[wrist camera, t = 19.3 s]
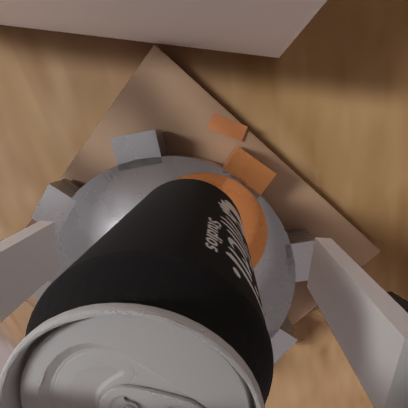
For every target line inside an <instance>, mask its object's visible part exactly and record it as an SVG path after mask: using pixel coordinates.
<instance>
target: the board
mask: <svg viewBox="0 0 408 408" xmlns="http://www.w3.org/2000/svg"><path fill="white" fill-rule="evenodd" d="M247 127H248V126H245V125H243V124H241V123H240V122H239V121H238V120H237V119H236V118H235V117H234V116H232V115H231V114H230V113H229V112H228V111H227V110H226V109H225V108H224V107H223V106H222V105H220V104H219V103H218V102H217V101H216V100H215V99H214V98H213V97H212V96H211V95H209V94H208V93H207V92H206V91H205V90H204V89H203V88H202V87H201V86H200V85H199V84H197V83H196V82H195V81H194V80H193V79H192V78H191V77H190V76H189V75H188V74H186V73H185V72H184V71H183V70H182V69H181V68H180V67H179V66H178V65H177V64H176V63H174V62H173V61H172V60H171V59H170V58H169V57H168V56H167V55H166V54H165V53H163V52H162V51H161V50H160V49H159V48H158V47H157V46H156V45H155V44H154V45H153V47H152V48H151V50H150V51H149V52H148V54H147V55H146V57H145V58H144V60H143V61H142V62H141V64H140V65H139V67H138V68H137V70H136V71H135V72H134V74H133V75H132V77H131V78H130V80H129V81H128V82H127V84H126V85H125V87H124V88H123V90H122V91H121V92H120V94H119V95H118V97H117V98H116V100H115V101H114V102H113V104H112V105H111V107H110V108H109V110H108V111H107V113H106V114H105V115H104V117H103V118H102V120H101V121H100V123H99V124H98V125H97V127H96V128H95V130H94V131H93V133H92V134H91V135H90V137H89V138H88V140H87V141H86V143H85V144H84V145H83V147H82V148H81V150H80V151H79V153H78V154H77V155H76V157H75V158H74V160H73V161H72V163H71V164H70V165H69V167H68V168H67V170H66V171H65V173H64V174H63V176H62V177H61V178H60V180H62V179H65V178H66V179H68V180H70V181H71V182H73V183H74V184H76V185H77V186H79V187H83V186H84V185H85V184H86V183H87V182H89V181H90V180H91V179H92V178H94V177H96V176H97V175H99V174H101V173H102V172H104V171H106V170H108V169H110V168H113V167H115V166H117V162H116V159H115V155H114V152H113V148H112V144H111V141H110V139H111V138H116V137H121V136H125V135H130V134H135V133H140V132H145V131H150V130H155V129H162V133H163V137H164V141H165V146H166V150H167V154H182V155H189V156H196V157H200V158H203V159H207V160H210V161H213V162H215V163H218V164H220V165H222V166H223V164H224V163H225V161H226V160H227V159H228V157H229V156H230V154H231V153H232V151H233V150H234V149H235V147H236V146H239V147H240V148H241V149H243V150H244V151H246V152H247V153H249V154H250V155H251V156H253V157H254V158H256V159H257V160H259V161H260V162H261V163H263V164H264V165H266V166H267V167H268V168H270V169H271V170H273V171H274V172H275V173H276V176H275V177H274V178H273V180H272V181H271V182H270V184H269V185H268V186H267V188H266V189H265V190H264V191H263V193H262V195H263V196H264V198H265V199H266V200H267V202H268V203H269V205H270V206H271V207H272V209H273V210H274V212H275V213H276V215H277V216H278V218H279V219H280V221H281V223H282V225H283V227H284V229H285V231H286V232H290V231H296V230H303V229H307V230H308V231H309V232H310V233H311V234H312V236H313V237H314V238H315V237H320V238H331V239H332V240H333V241H334V242H335V243H336V244H337V245H339V246H340V247H341V248H342V249H343V250H344V251H345V252H346V253H347V254H348V255H349V256H350V257H351V258H352V259H353V260H354V261H355V262H356V263H357V264H358V265H359V266H360V267H361V268H362V267H363V266H364V265H366V264H367V263H368V262H369V261H370V260H371V259H373V258H374V257H375V256H376V255H377V254H379V253H380V252H381V251H380V250H379V249H378V248H377V247H376V246H375V245H374V244H373V243H372V242H370V241H369V240H368V239H367V238H366V237H365V236H364V235H363V234H362V233H361V232H360V231H358V230H357V229H356V228H355V227H354V226H353V225H352V224H351V223H350V222H349V221H347V220H346V219H345V218H344V217H343V216H342V215H341V214H340V213H339V212H338V211H337V210H335V209H334V208H333V207H332V206H331V205H330V204H329V203H328V202H327V201H326V200H324V199H323V198H322V197H321V196H320V195H319V194H318V193H317V192H316V191H315V190H314V189H312V188H311V187H310V186H309V185H308V184H307V183H306V182H305V181H304V180H303V179H301V178H300V177H299V176H298V175H297V174H296V173H295V172H294V171H293V170H292V169H291V168H289V167H288V166H287V165H286V164H285V163H284V162H283V161H282V160H281V159H280V158H278V157H277V156H276V155H275V154H274V153H273V152H272V151H271V150H270V149H269V148H268V147H266V146H265V145H264V144H263V143H262V142H261V141H260V140H259V139H258V138H257V137H255V136H254V135H253V134H252V133H251V132H250V131H249V130H248V129H247ZM36 222H37V221H35V220H34V219H32V220H31V221H30V223H29V224H28V226H27V227H29V226H31V225H33V224H35V223H36ZM27 227H26V228H27ZM307 283H308V280H307V281H299V282H295V288H294V295H293V299H292V302H291V306H290V309H289V311H288V313H287V316H286V318H287V319H289V320H290V321H291V323H292V326H294V325H295V324H296V323H297V322H298V321H299V320H301V319H302V318H303V317H304V316H305V315H306V314H308V313H309V312H310V311H311V310H312V309H314V308H315V307H316V306H317V304H316V302H315V300H314V298H313V296H312V295H311V293H310V291H309V289H308V288H307ZM26 302H28V303H29V304H30V305H32V306H33V307H35V306H36V304H37V300H36V298H35V296H34V294H32V295H31V296H30V297H29V298H28V299H27V300H26Z"/></svg>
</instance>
